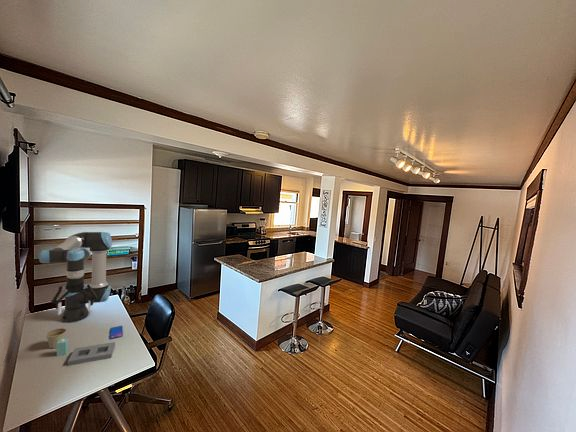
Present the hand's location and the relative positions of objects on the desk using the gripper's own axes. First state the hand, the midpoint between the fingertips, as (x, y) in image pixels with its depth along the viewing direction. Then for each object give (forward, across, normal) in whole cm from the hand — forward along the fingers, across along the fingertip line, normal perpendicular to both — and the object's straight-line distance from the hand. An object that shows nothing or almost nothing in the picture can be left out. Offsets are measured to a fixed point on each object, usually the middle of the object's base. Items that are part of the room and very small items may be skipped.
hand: (75, 312), depth 141 cm
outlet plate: (+27, +9, -3) cm, 28 cm away
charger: (+27, -7, +4) cm, 28 cm away
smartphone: (+27, +18, +19) cm, 38 cm away
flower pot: (+27, -13, +14) cm, 33 cm away
